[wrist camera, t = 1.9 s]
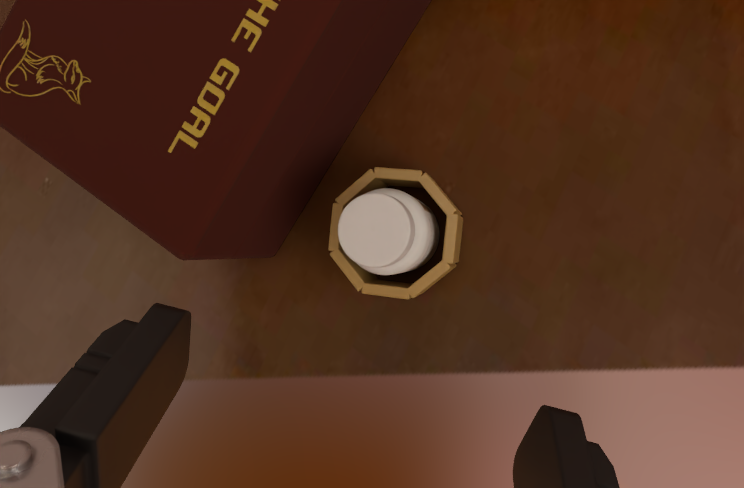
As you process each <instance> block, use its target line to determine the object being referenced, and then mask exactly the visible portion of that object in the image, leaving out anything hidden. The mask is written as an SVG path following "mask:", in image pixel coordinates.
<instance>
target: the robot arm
mask: <svg viewBox="0 0 744 488" xmlns="http://www.w3.org/2000/svg"><path fill="white" fill-rule="evenodd" d="M190 329H191V313H190V312H189V311H186V310H182V309H178V308H175V307H171V306H167V305H163V304H159V303H156V304H154V305H153V306H152V307H151V308H150V309H149V310H148V312H147V313H146V314H145V315H144V317H143V318H142V319H141V320H140V322H139V323H137V322H133V321H129V320H123V321H121V322H120V323H118V324H116V325H114V326H112V327H111V328H109V329H107V330H105V331H104V332H102V333H101V335H100V336H99V337H98V338H97V339H96V340H95V341H94V343H93V344H92V345H91V346H90V347H89V348H88V350H87V353H84V354H83V355H82V357H81V358H80V359H79V360H78V361H77V362H76V363H75V366H74V368H71V369H70V370H69V372H68V373H67V374H66V375H65V376H64V377H63V378H62V380H61V381H60V382H59V383H58V384H57V385H56V387H55V388H54V389H53V390H52V391H51V392H50V394H49V395H48V396H47V397H46V398H45V399H44V401H43V402H42V403H41V404H40V405H39V406H38V407H37V408H36V410H35V411H34V412H33V413H32V414H31V415H30V417H29V418H28V419H27V420H26V421H25V422H24V423H23V424H22V425H21V426H20V427H19V428H14V429H9V430H6V431H3V432H0V488H120V487H121V486H122V484H123V482H124V481H125V479H126V477H127V476H128V474H129V472H130V471H131V469H132V467H133V466H134V464H135V462H136V461H137V459H138V457H139V455H140V454H141V452H142V450H143V449H144V447H145V445H146V444H147V442H148V440H149V439H150V437H151V435H152V434H153V432H154V430H155V428H156V427H157V425H158V424H159V422H160V420H161V419H162V417H163V415H164V413H165V412H166V410H167V409H168V407H169V405H170V403H171V402H172V400H173V398H174V397H175V395H176V393H177V392H178V390H179V388H180V386H181V384H182V382H183V380H184V377H185V374H186V370H187V366H188V360H189V344H190ZM513 482H514V488H619V484H618V481H617V477H616V474H615V470H614V467H613V465H612V464H611V462H610V461H609V459H608V458H607V456H606V455H605V453H604V452H603V450H602V449H601V447H600V446H599V444H596V443H593V442H589V441H587V440H586V436H585V432H584V428H583V424H582V420H581V417H580V416H579V415H578V414H577V413H573V412H570V411H566V410H562V409H558V408H554V407H550V406H546V405H543V406H541V407H540V409H539V411H538V412H537V414H536V416H535V418H534V419H533V421H532V423H531V425H530V427H529V429H528V431H527V432H526V434H525V436H524V438H523V440H522V442H521V443H520V445H519V447H518V449H517V452H516V455H515V459H514V466H513Z"/></svg>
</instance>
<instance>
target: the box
mask: <svg viewBox="0 0 744 488" xmlns="http://www.w3.org/2000/svg"><path fill="white" fill-rule="evenodd" d="M430 2H431V0H16V1H15V3H14V5H13V7H12V9H11V11H10V13H9V15H8V17H7V19H6V20H5V22H4V24H3V26H2V28H1V30H0V126H1V127H2V128H3V129H5V130H6V131H8V132H9V133H10V134H12V135H13V136H14V137H16V138H17V139H18V140H20V141H21V142H22V143H24V144H25V145H26V146H28V147H29V148H30V149H32V150H33V151H35V152H36V153H37V154H39V155H40V156H41V157H43V158H44V159H45V160H47V161H48V162H49V163H51V164H52V165H53V166H55V167H56V168H57V169H59V170H60V171H61V172H63V173H64V174H66V175H67V176H68V177H70V178H71V179H72V180H74V181H75V182H76V183H78V184H79V185H80V186H82V187H83V188H84V189H86V190H87V191H88V192H90V193H91V194H92V195H94V196H95V197H97V198H98V199H99V200H101V201H102V202H103V203H105V204H106V205H107V206H109V207H110V208H111V209H113V210H114V211H115V212H117V213H118V214H119V215H121V216H122V217H123V218H125V219H126V220H128V221H129V222H130V223H132V224H133V225H134V226H136V227H137V228H138V229H140V230H141V231H142V232H144V233H145V234H146V235H148V236H149V237H150V238H152V239H153V240H154V241H156V242H157V243H159V244H160V245H161V246H163V247H164V248H165V249H167V250H168V251H169V252H171V253H172V254H173V255H175V256H176V257H177V258H179V259H182V260H204V259H236V258H266V257H273V256H274V255H275V254H276V253H277V251H278V249H279V248H280V246H281V244H282V243H283V241H284V240H285V238H286V236H287V235H288V233H289V231H290V230H291V228H292V227H293V225H294V223H295V222H296V220H297V218H298V217H299V215H300V213H301V212H302V210H303V209H304V207H305V205H306V204H307V202H308V200H309V199H310V197H311V196H312V194H313V192H314V191H315V189H316V187H317V186H318V184H319V183H320V181H321V179H322V178H323V176H324V174H325V173H326V171H327V169H328V168H329V166H330V165H331V163H332V161H333V160H334V158H335V156H336V155H337V153H338V152H339V150H340V148H341V147H342V145H343V143H344V142H345V140H346V139H347V137H348V135H349V134H350V132H351V130H352V129H353V127H354V125H355V124H356V122H357V121H358V119H359V117H360V116H361V114H362V112H363V111H364V109H365V108H366V106H367V104H368V103H369V101H370V99H371V98H372V96H373V95H374V93H375V91H376V90H377V88H378V86H379V85H380V83H381V81H382V80H383V78H384V77H385V75H386V73H387V72H388V70H389V68H390V67H391V65H392V64H393V62H394V60H395V59H396V57H397V55H398V54H399V52H400V51H401V49H402V47H403V46H404V44H405V42H406V41H407V39H408V37H409V36H410V34H411V33H412V31H413V29H414V28H415V26H416V24H417V23H418V21H419V20H420V18H421V16H422V15H423V13H424V11H425V10H426V8H427V7H428V5H429V3H430Z"/></svg>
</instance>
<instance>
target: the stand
mask: <svg viewBox="0 0 744 488" xmlns="http://www.w3.org/2000/svg"><path fill="white" fill-rule="evenodd" d="M388 185H390V186H403V187H415V188H424V189H425V190H426V191H427V192H428V193H429V195H430V196H431V197H432V198H433V200H434V201H435V202H436V203H437V204H438V206H439V207H440V208H441V209H442V210H443V212H444V213H445V214H446V215H447V218H446V227H445V237H444V247H443V256H442V261H441V262H439V263H438V264H437V265H436V266H434V267H433V268H432V269H431V270H429V271H428V272H427V273H426V274H424V275H423V276H422V277H421V278H419V279H418V280H417V281H416V282H414V283H405V282H396V281H388V280H380V279H378V278H377V276H376V275H375V274H374V273H371V272H369V271H367V270H365V269H363V268H362V267H360V266H359V265H358V264H357V263H356V262H354V261H353V260H351V259H350V258H349V257H348V256H347V255H346V253H345V252H344V251H343V249H342V247H341V245H340V242H339V238H338V223H339V219H340V216H341V214H342V212H343V210H344V209H345V207H346V206H347V205H348V204H349V203H350V202H351V201H352V200H354V199H355V198H357V197H358V196H361V195H363V194H366V193H367V192H370V191H372V190H376V189H381V188H386V187H387V186H388ZM335 201H336V202H337V203H333V207H332V217H331V227H330V237H329V247H328V250H329V251H332V252H331V253H330V256H331V257H332V258H333V260H334V261H335V262H336V264H337V265H338V266H339V267H340V269H341V270H342V271H343V273H344V274H345V275H346V277H347V278H348V279H349V280H350V282H351V283H352V284H353V286H354V287H355V288H356V289H357V291H361V290H362V294H369V295H377V296H385V297H393V298H401V299H410V298H415V297H416V296H418V295H420V294H422V293H424V292H425V291H426V290H427V289H429V288H430V287H431V286H432V285H434V284H435V283H436V282H437V281H439V280H440V279H441V278H442V277H444V276H445V275H446V274H447V273H449V272H450V271H451V270H452V269H454V268H455V267H456V266H457V265H456V264H455V263H458V262H459V255H460V245H461V236H462V226H463V218H462V217H461V215H462V213H461V212H460V211H459V210H458V208H457V207H456V206H455V205H454V204H453V202H452V201H451V200H450V199H449V197H448V196H447V195H446V194H445V193H444V191H443V190H442V189H441V188H440V187H439V185H438V184H437V183H436V182H435V181H434V180H433V179H432V178H431V177H430V176H429V175H428V174H427V173H426V172H425V173H424V172H423V171H422V170H410V169H396V168H382V167H375V168H374V170H372V169H369V170H368V171H367V172H366V173H365V174H363V175H362V176H361V177H360V178H359V179H358V180H356V181H355V182H354V183H353V184H352V185H351V186H350V187H348V188H347V189H346V190H345V191H344V192H343V193H341V194H340V195H339V196H338V197H337V198H336V199H335Z"/></svg>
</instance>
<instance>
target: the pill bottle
mask: <svg viewBox="0 0 744 488" xmlns="http://www.w3.org/2000/svg"><path fill="white" fill-rule="evenodd" d="M439 237H440V230H439V225H438V222H437V219H436V217H435V215H434V213H433V212H432V210H431V209H430V208H429V207H428V206H427V205H425V204H424V203H423V202H421V201H419V200H418V199H416V198H415V197H413V196H411V195H409V194H407V193H405V192H403V191H400V190H397V189H391V188H381V189H376V190H372V191H370V192H367V193H366V194H363V195H361V196H358V197H357V198H355V199H354V200H352V201H351V202H350V203H349V204H348V205H347V206H346V207H345V209H344V210H343V212H342V214H341V216H340V219H339V223H338V238H339V242H340V245H341V247H342V249H343V251H344V252H345V253H346V255H347V256H348V257H349V258H350V259H351V260H353V261H354V262H356V263H357V264H358V265H359V266H360V267H362V268H363V269H365V270H367V271H369V272H371V273H374V274H378V275H393V274H398V273H403V272H409V271H413V270H416V269H418V268H420V267H422V266H423V265H425V264H426V263H427V262H428V261H429V260H430V259H431V258H432V256H433V255H434V253H435V252H436V250H437V247H438V244H439Z"/></svg>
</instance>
